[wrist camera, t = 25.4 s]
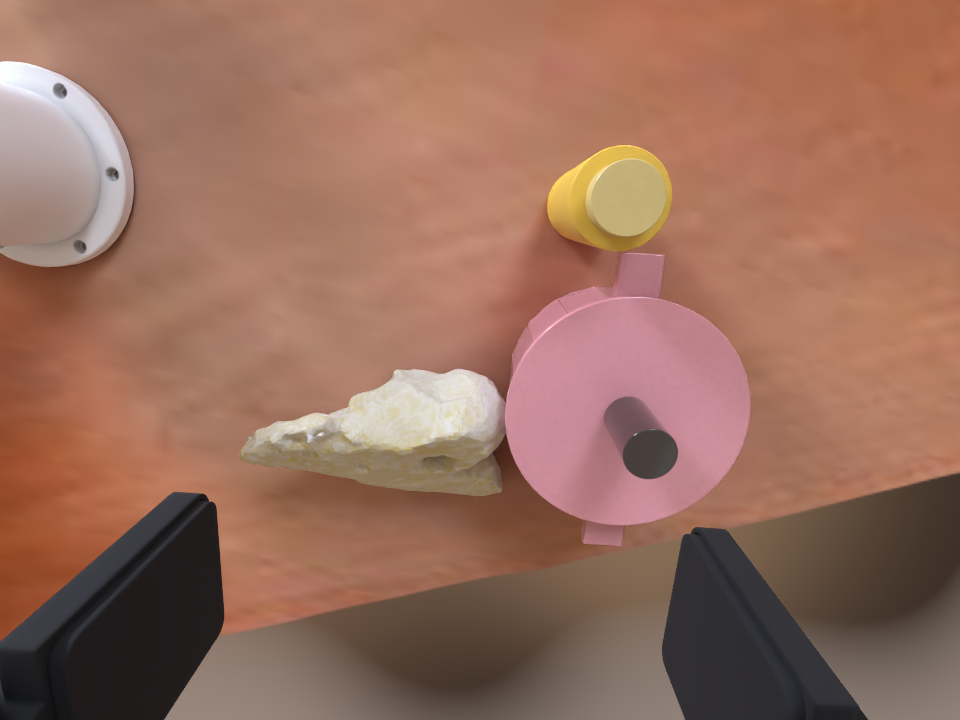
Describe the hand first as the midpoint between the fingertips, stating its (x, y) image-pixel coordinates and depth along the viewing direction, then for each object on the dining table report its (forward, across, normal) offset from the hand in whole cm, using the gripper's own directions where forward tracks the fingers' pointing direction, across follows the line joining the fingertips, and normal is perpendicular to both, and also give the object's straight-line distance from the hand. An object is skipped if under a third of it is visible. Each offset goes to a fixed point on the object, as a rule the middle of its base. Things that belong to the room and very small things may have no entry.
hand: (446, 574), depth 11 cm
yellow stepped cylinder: (+28, -6, -8) cm, 29 cm away
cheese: (+28, +6, +9) cm, 30 cm away
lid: (+20, -9, +4) cm, 22 cm away
